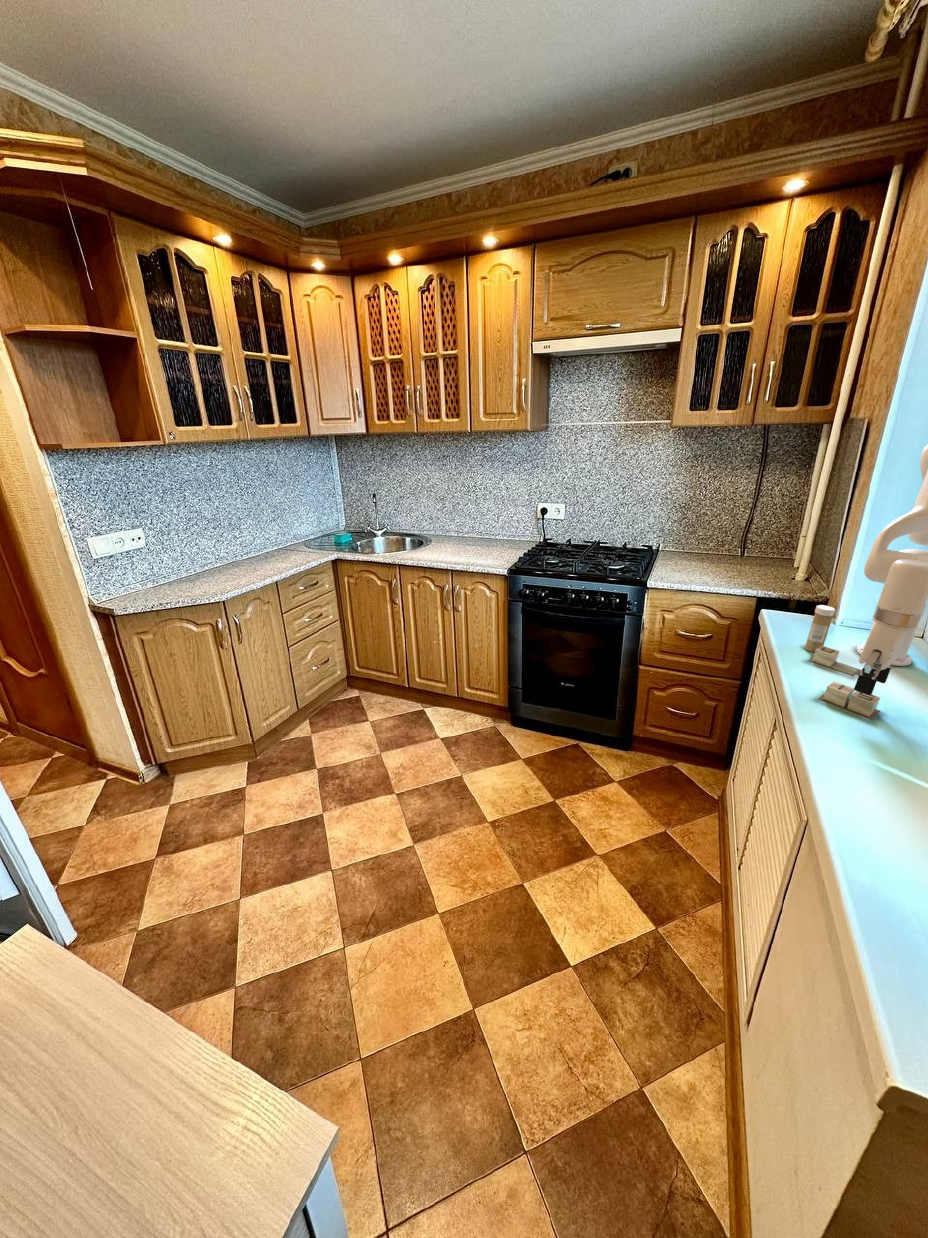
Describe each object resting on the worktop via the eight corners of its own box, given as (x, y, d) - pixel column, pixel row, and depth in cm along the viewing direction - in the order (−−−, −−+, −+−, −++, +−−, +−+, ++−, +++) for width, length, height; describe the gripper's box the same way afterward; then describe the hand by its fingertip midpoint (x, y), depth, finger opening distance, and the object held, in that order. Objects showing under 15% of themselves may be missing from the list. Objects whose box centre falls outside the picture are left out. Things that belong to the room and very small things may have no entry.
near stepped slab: (826, 693, 127) (832, 678, 125) (880, 713, 119) (886, 697, 117) (816, 701, 123) (822, 685, 121) (870, 722, 115) (877, 705, 113)
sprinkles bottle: (824, 650, 150) (838, 608, 145) (817, 654, 148) (831, 611, 142) (808, 645, 153) (821, 603, 148) (800, 648, 151) (813, 606, 146)
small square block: (853, 702, 122) (858, 689, 120) (875, 710, 118) (880, 697, 117) (846, 708, 119) (851, 694, 118) (868, 717, 116) (874, 703, 115)
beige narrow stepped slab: (815, 656, 146) (820, 643, 144) (860, 671, 138) (865, 657, 136) (806, 662, 142) (811, 648, 141) (852, 678, 134) (857, 664, 133)
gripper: (887, 604, 117) (863, 670, 124) (861, 619, 108) (837, 690, 114) (928, 614, 112) (901, 683, 118) (905, 631, 102) (877, 704, 108)
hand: (869, 686), depth 116 cm, fingers open, 9 cm apart
